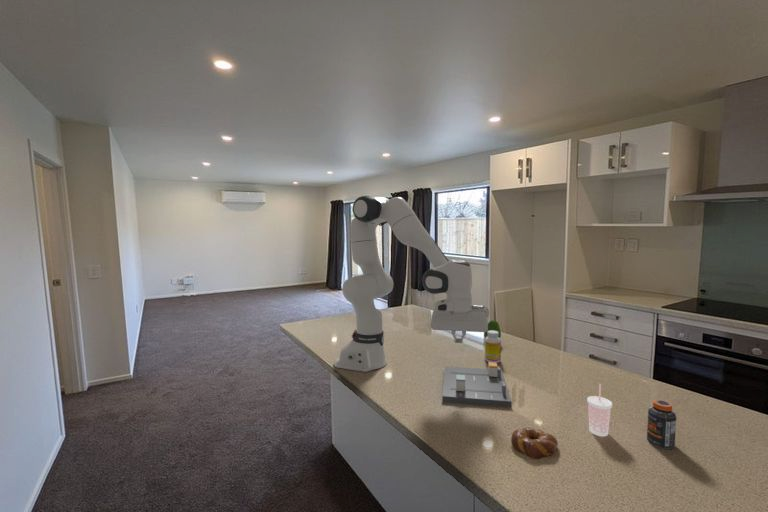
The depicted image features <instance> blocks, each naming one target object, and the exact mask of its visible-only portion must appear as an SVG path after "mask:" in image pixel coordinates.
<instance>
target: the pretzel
mask: <svg viewBox="0 0 768 512" xmlns="http://www.w3.org/2000/svg"><path fill="white" fill-rule="evenodd" d="M510 442H511V446H512V447H513V448H514V449H515V450H516V451H517V452H519V453H521V454H524V455H526V456H527V457H529V458H531V459H542V458H544V457H549V455H551V456H552V455H554V454H555V453H556V451H557V448H558V440H557V438H556V437H555V436H554V435H552V434H550V433H545V431H543V430H541V429H534V428H532V427H524V428H518V429H515V430H514V431H513V432H512V434H511V439H510Z"/></svg>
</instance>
